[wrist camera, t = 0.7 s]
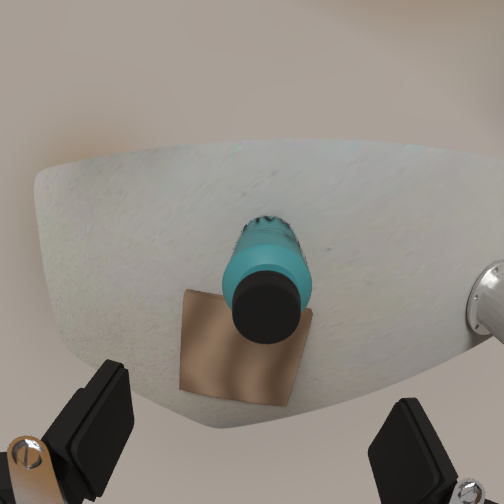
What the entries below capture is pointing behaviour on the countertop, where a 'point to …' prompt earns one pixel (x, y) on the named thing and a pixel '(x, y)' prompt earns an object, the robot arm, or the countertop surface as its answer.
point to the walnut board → (235, 354)
